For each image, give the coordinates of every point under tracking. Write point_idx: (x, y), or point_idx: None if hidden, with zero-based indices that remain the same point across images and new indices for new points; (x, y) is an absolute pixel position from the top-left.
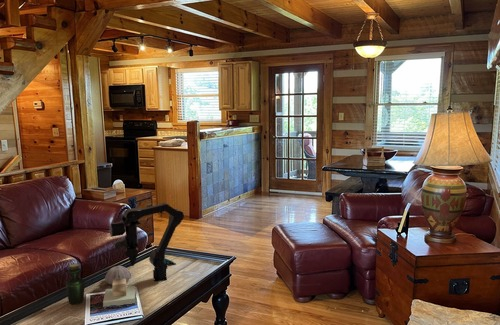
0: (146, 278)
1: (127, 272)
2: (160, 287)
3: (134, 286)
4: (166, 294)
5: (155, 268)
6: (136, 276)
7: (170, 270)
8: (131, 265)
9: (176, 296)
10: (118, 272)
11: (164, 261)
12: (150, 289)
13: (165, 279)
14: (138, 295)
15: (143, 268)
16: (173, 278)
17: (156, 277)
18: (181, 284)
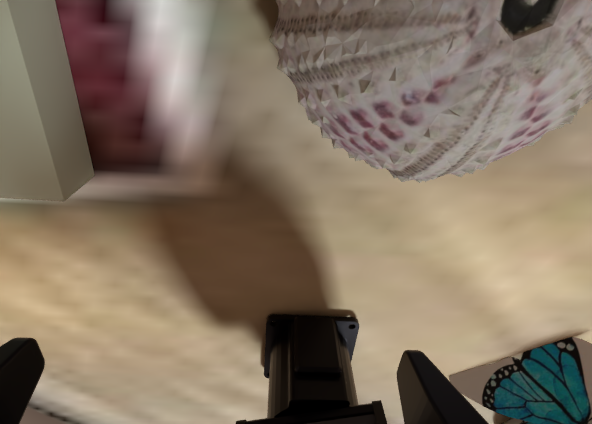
0: (354, 269)
1: (380, 155)
2: (152, 333)
3: (50, 194)
4: None
5: (305, 406)
6: (442, 202)
7: None
8: (2, 347)
9: None
10: (350, 23)
11: (529, 417)
12: (127, 279)
13: (264, 370)
14: None
15: (585, 262)
16: None
17: (286, 341)
18: (174, 419)
